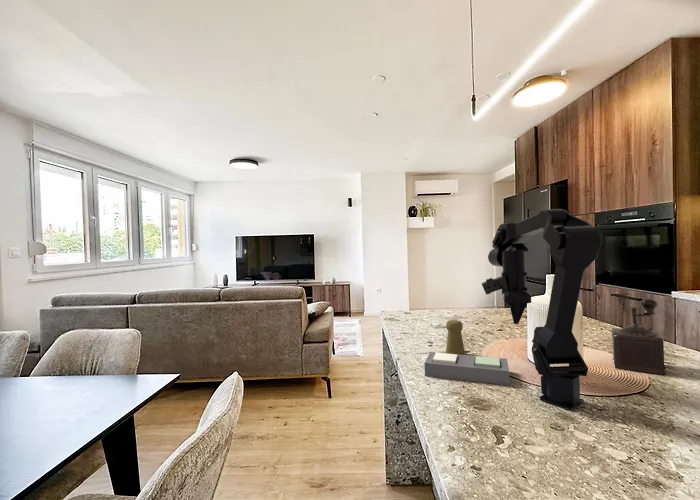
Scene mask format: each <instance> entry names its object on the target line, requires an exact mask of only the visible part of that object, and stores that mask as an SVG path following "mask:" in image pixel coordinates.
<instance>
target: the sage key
mask: <svg viewBox="0 0 700 500" xmlns="http://www.w3.org/2000/svg"><path fill="white" fill-rule="evenodd" d="M475 356H476V360H475V366H483V367H493V368H500V361H499V358H500V357H494V358H493V356H492V357H491V356H482V357H481V356H480V355H479V356H478V355H475Z"/></svg>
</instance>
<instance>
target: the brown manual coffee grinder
mask: <svg viewBox="0 0 700 500" xmlns="http://www.w3.org/2000/svg"><path fill="white" fill-rule="evenodd" d="M639 306H640V307H642V309H643V311H642V313H638V312H637V310H638V309H637V307H636V306H632V307H631V308H630V311H631V313H630V316H631V317H632V324H631V325H627V326H623V327H621V328H618V327H617V328H616V327H611V339H612V340H611V341H612V343H611V345H612V361H613V360H614V363H613V365H614V364H615V366H614V368H615V369H616V368H619V369H618V370H622V369H624V371H628V370H630V371H629V372H638V373H644V374H651V375H658V376H666V372H665V370H667V367H666V365H665V349H664V345H665V344H664V341H663V337H662V336H661V335H660V334H659V332H658V331H656V330H652V328H653V326H650V327H649V328H648V327H645V326H643V325H639V324H638V318H641V317H642V318H643V317H651V316H655V315H656V312H655V310H656V308H657V307H658V306H659V304H658V301H657V300H654V299H652V298H643V299H641V300H640V301H639Z"/></svg>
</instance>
